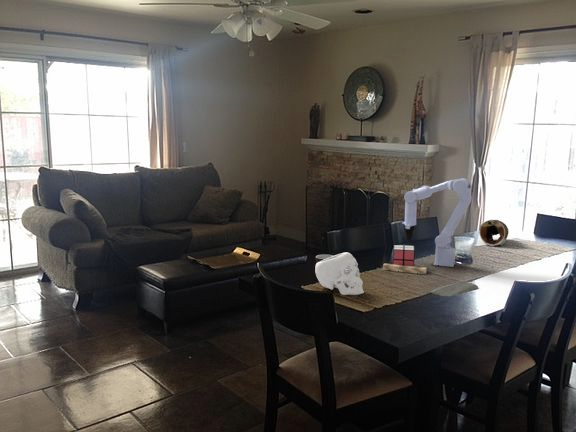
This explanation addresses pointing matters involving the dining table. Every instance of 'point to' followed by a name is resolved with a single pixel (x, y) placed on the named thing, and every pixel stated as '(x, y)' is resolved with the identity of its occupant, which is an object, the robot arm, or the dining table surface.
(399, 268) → the board
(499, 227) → the clay pot
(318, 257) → the coffee mug
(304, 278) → the dining table surface
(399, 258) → the puzzle cube
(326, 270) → the skull planter
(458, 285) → the stone slab
